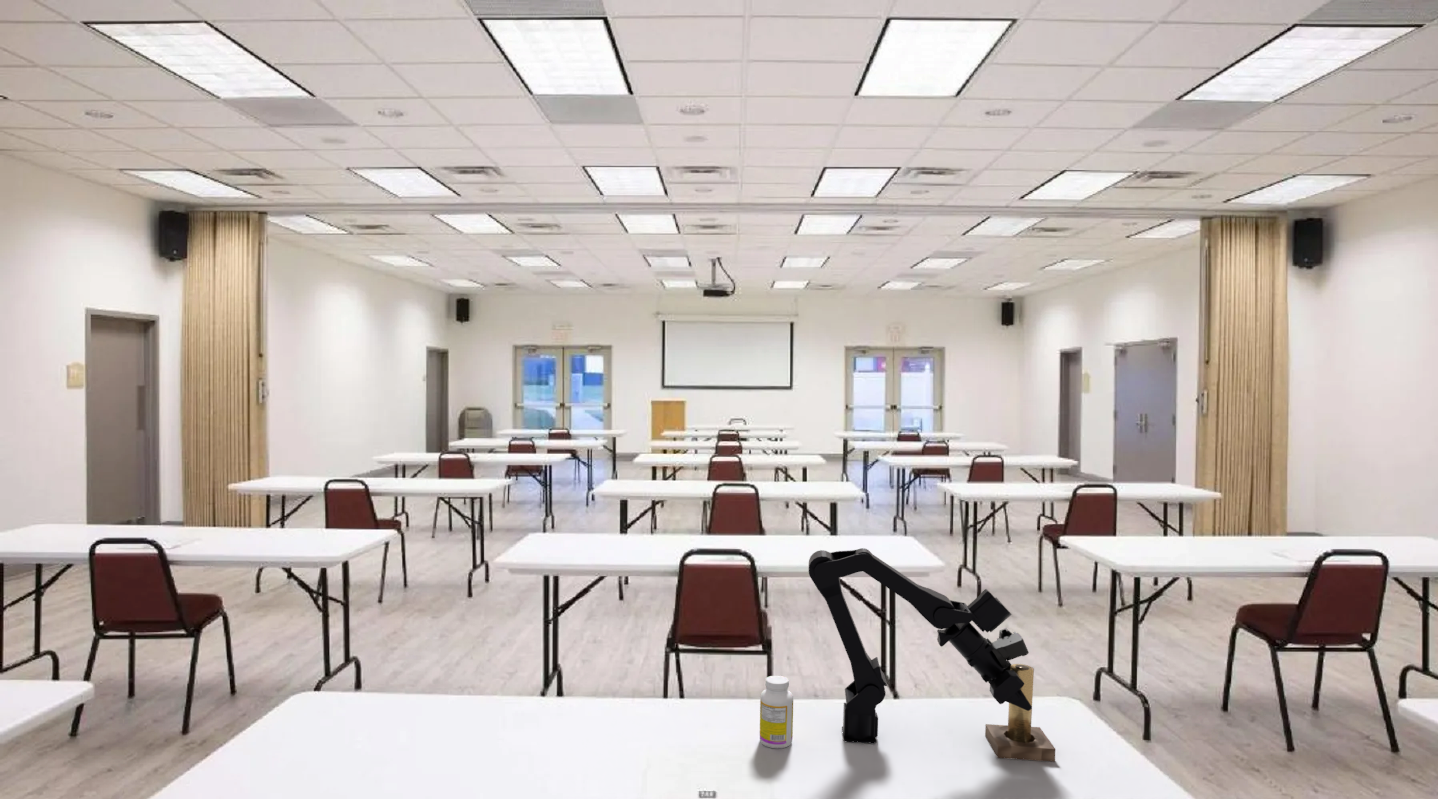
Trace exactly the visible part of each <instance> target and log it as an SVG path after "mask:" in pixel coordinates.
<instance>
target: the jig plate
mask: <svg viewBox="0 0 1438 799" xmlns="http://www.w3.org/2000/svg"><path fill="white" fill-rule="evenodd" d="M984 732H985V733H984V736H985V738H986V740H987V742H988V744H989V746H990V748H991V750H992V751H993V753H994V754H995V756H996V758H997V759H1007V760H1008V759H1009V760H1022V761H1023V760H1024V761H1039V762H1040V761H1041V762H1042V761H1044V762H1053V763H1054V762H1056V747H1054V745H1053V744H1052V742H1051V741H1050V739H1049V737H1048V736H1047V735H1046V734H1045V732H1044V731H1043V729H1042V728H1041V727H1040V726H1031V741H1030V742H1029V743H1024V742H1017V741H1013V740H1010V739H1009V738H1007V734H1008V724H1007V725H1004V724H993V723H992V724H988V723H985V730H984Z"/></svg>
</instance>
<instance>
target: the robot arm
mask: <svg viewBox="0 0 1438 799" xmlns="http://www.w3.org/2000/svg"><path fill="white" fill-rule="evenodd" d="M861 572H863V573H865V574H867V576H869V577H871V578H872V579H874V580H875V581H876V582H879V583H880V584H881V585H882V586H884V587H885V588H887V589H889V590H891V592H893V593H895V595H897V596H899V597H900V598H902V599H903V600H905V601H907V602H908V603H909V604H910V605H911V606H912V607H913V608H914V609H915V610H916V611H917V612H918V613H919V614H920V615H921V616H922V617H923V618H924V619H925V620H926V621H927V622H928V623H929V624H931V626H933V627H934V628H936V629H937V630H936V631H937V632H936V633H937V638H936V640H937V642H938V645H939V646H940V647H941V648H942V647H944V646H945V645H946V644H947V643H948V642H949V643H950V644H951V646H953V648H955V650H957V652H958V653H959V654H960V655H961V656H962V658H964V659H965V660H966V662H967V664H968V666H970V667H971V668H973V669H974V670H975V671H976V673H978V674H979V675H980V677H981V680H983V681H984V682H985V683H988V685H989V692H990V694H991V696H992V697H993V698H994V700H995V701H997V703H998V705H1002V704H1004V703H1005V702H1007V703H1008V704H1009V703H1011V704H1013V705H1016V706H1018V707H1020V708H1022V709H1025V710H1027V711H1029V710H1031V709H1032V710H1033V705H1032V706H1031V705H1030V703H1029V702H1028V700H1027V698H1026V697H1025V695H1024V694H1023V692H1022V691H1021V688H1022V687H1023V685H1024V682H1023V681H1022V679H1021V678H1020V677H1019V675H1018V674H1017V673H1016V672H1015V671H1014V670H1010V668H1011V665H1012V663H1011V662H1010V661H1011V660H1014V659H1016V658H1020V657H1021V656H1022V657H1025V656H1027V655H1029V650H1028V647H1027V645H1026V643H1025V640H1024V638H1023V637H1022V635H1021V634H1020V633H1019V632H1016V631H1014V632H1011V631H1010V630H1009V629H1007V627H1005V628H1002V629H1000V630H999V632H998V637H997V638H996V640H995V641H991V640H990V639H989V638H986V637H984V636H983V635H982V633H980V632H979V631H982V632H983V633H984V632H986V633H989V632H990V633H993V631H995V630H996V629H997V628H998V627H999V626H1000V625H1002V624H1003V623H1004V622H1005V621H1006V620H1008V618H1009V617H1011V616H1012V615H1013V614H1012V613H1011V612H1010V611H1009V609H1008V608H1007V607H1006V606H1005V605H1004V604H1003V603H1002V602H1001V601H1000V600H999V598H997V597H995V596H994V595H993V594H992V593H991V592H990V591H989V590H988V589H987V588H985V589H983V590H982V591H981V592H980V594H979V595H978V596H977V597H976V598H975V599H974V600H972V601H971V602H970V603H969V604H968V605H967V603H966V602H961V601H956V600H951V599H949V597H947V595H945V594H943V593H940V592H938V591H936V590H933V589H931V588H929V587H925V586H922V585H920V584H919V583H916V582H915V581H913V580H912V579H910V578H909V577H907V576H906V575H904V574H903V573H901V572H900V571H898V570H897V569H896V568H894V567H893V566H890V565H889V564H888V563H886V562H885V561H883V560H882V559H880V558H879V557H877V556H876V555H875V554H873V553H872V552H871V551H870V550H869V549H867V548H864V547H863V548H859V549H851V550H838V551H832V552H830V551H827V550H821V549H820V550H817V551H815V552H813V553H812V554H811V555H810V557H809V559H808V575H809V578H810V579H811V581H812V582H813V584H814V586H815V587H816V589H817V590H818V592H819V593H820V594H821V596H822V597H823V599H824V600H825V601H826V604H827V607H828V609H829V612H830V615H831V617H832V619H833V622H834V624H835V627H836V629H837V632H838V634H839V636H840V639H841V643H842V645H843V646H844V647H843V648H844V649H845V652H846V655H847V657H848V659H849V662H850V666H851V670H852V671H851V672H852V675H853V676H852V677H853V681H851V683H850V684H848V685H847V686H846V687H844V695H845V696H844V697H845V702H843V713H842V715H843V717H842V719H843V720H842V726H841V733H842V732H843V733H842V738H843V739H844V740H843V739H842V740H843V742H845V741H847V742H846V743H861V744H876V743H877V739H876V738H878V734H879V733H878V732H879V716H878V713H877V712H876V708H877V705H878V706H879V705H880V704H882V702H883V700H884V699H885V697H886V689H885V688H886V687H887V686H888V683H887V679H886V676H885V673H884V672H883V671H882V669H881V667H880V664H879V663H880V662H879V658H878V657H877V656H876V657H875V658H872V659H871V657H870V655H868V653H867V651H866V649H865V646H864V643H863V640H862V638H861V636H860V633H859V631H858V629H857V626H856V624H855V620H854V618H853V616H852V614H851V611H850V608H849V605H848V604H847V601H846V598H845V596H844V594H843V591H842V586H841V585H842V584H841V580H840V578H844V577H847V576H850V575H854V574H857V573H861ZM971 622H973V623H974V625H976V627H977V628H978V629H979V630H977V628H975V626H974V625H973V624H972V623H971Z"/></svg>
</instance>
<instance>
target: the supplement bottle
mask: <svg viewBox="0 0 1438 799" xmlns="http://www.w3.org/2000/svg"><path fill="white" fill-rule="evenodd" d="M789 685H790V680H789V678H788V677H786V676H782V675H770V676H767V677H765V689H763V691H761V694H760V696H759V697H760V701H759V702H760V704H759V705H760V706H759V711H760V712H759V741H760V743H761V744H762V745H763V746H765V747H767V748H771V749H784V748H786V747H789V746H790V745H792V743H793V736H794V735H793V730H794V729H793V728H794V723H793V722H794V695H793V693H792V692H791V691H790V690H789V687H790V686H789Z"/></svg>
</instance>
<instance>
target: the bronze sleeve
mask: <svg viewBox="0 0 1438 799" xmlns="http://www.w3.org/2000/svg"><path fill="white" fill-rule="evenodd" d="M1010 670H1014V671H1015V672H1016V673H1017V674H1018V675H1019V677H1020V678H1021V679H1022V681H1023V682H1024V685H1023V687H1022V688H1021V691H1022V692H1023V694H1024V695H1025V697H1026V698H1027V700H1028V702H1029V703H1030V705H1031V706H1032V707H1033V694H1034V693H1033V691H1034V678H1035V676H1034V671H1035V669H1034V668H1033V667H1032V666H1031V665H1027V664H1023V663H1022V664H1021V663H1012V664H1011V668H1010ZM1032 715H1033V708H1032V709H1031V710H1029V711H1027V710H1025V709H1022V708H1020V707H1018V706H1016V705H1013V704H1011V703H1009V702H1008V716H1007V717H1008V718H1007V725H1008V734H1007V738H1009V739H1010V740H1013V741H1017V742H1024V743H1029V742H1030V741H1031V727H1032V720H1033V719H1032V718H1033V717H1032Z"/></svg>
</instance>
